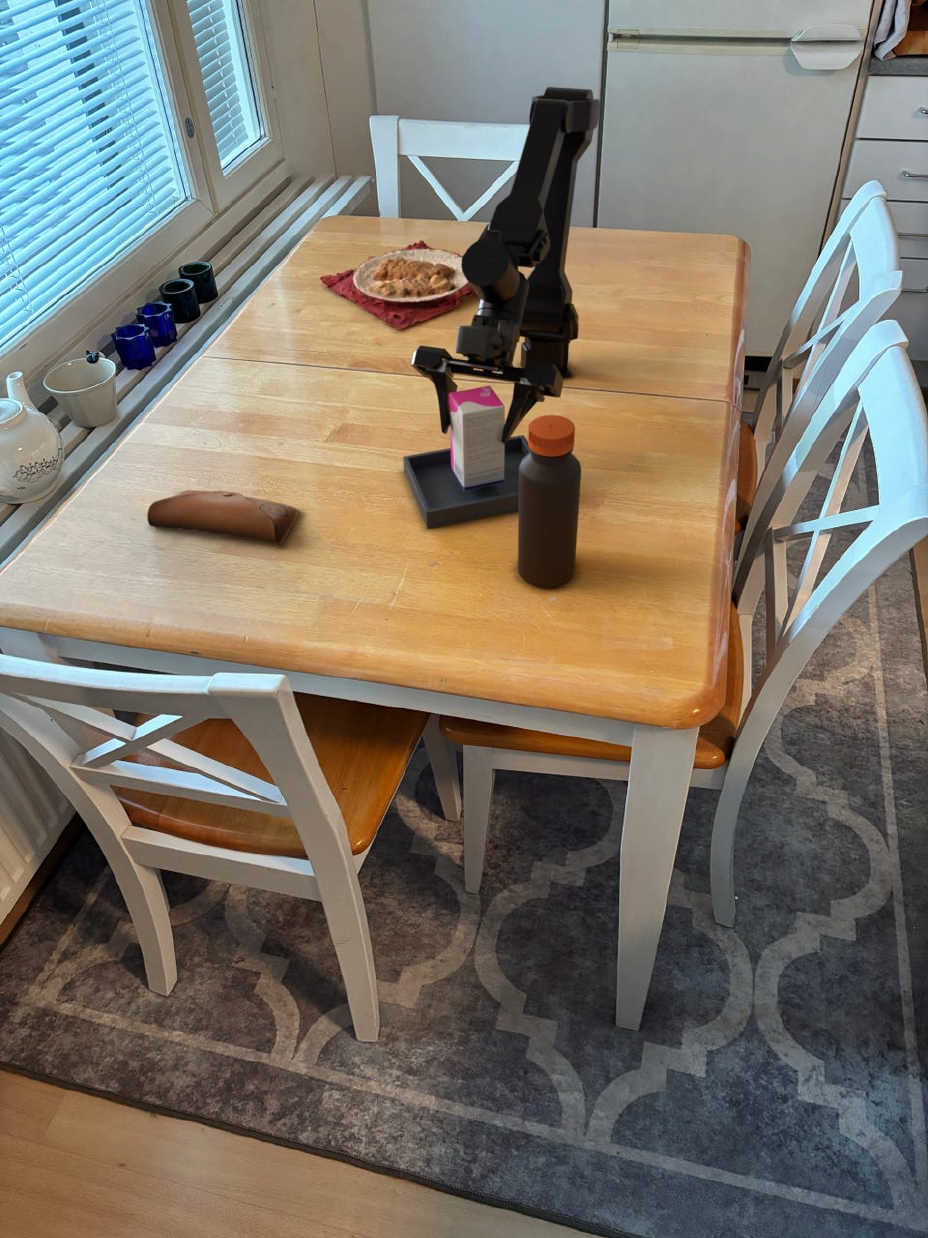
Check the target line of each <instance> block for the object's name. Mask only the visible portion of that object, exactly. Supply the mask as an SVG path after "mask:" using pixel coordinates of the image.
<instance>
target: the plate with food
mask: <svg viewBox="0 0 928 1238" xmlns="http://www.w3.org/2000/svg"><path fill="white" fill-rule="evenodd" d="M462 257H463V255H461V254H459V253H457V252H453V251H450V250H449V251H448V250H446V249H436V248H433V247H431V246H429V245H427V243H425V241H424V240H421V239H420V240H419V241H418V242H417V241H415V242H414V243H413V244H409V245H407V246H405V247H404V248H401V249H399V248H398V249H395V250H391V251H388V252H384V253H383V254H379V255H375V256H374V255H372V256H368V259H367V260H365V261H363V262H362V263H360V264H359V265H358V267H357V268H355V269H352V268H351V269H346V271H343V272H336V275H333V274H328V275H321V276H320V277H319V280H320V281H321V282H322V284H324V285H325V286H326V287H327V289H329V290H331V291H333V292H334V293H335V294H337V295H339V296H344V297H345V298H346V299H348V300H349V301H353V302H354V303H355V304H357V306H359V307H361V308H363V309H364V310H365V311H366V312H370V313H371V314H374V315H375V317H376V318H377V319H379V320H382V321H383V322H385V323H386V324H388V325H389V326H390V327H392V328H394V330H400V329H401V330H404V328H406V327H409V326H414V324H415V323H416V322H419V323H422V322H423V321H427V320H429V319H430V318H432V317H433V318H434V317H435V316H437V315H440V314H442V313H444V312H448V311H451V310H453V309H455V308H456V307H457V306H458V305H459V304H460V303H461V300H459V299H458V298H459V297H461V296H463V295H464V294H465V297H467V298H471V297H473V295H474V292H475V291H474V290H473V288H472V287H471V285H470V284H469V282H468V281H467V279H466V278H465V276H464V274H463V272H462V266H461V264H462ZM394 315H396V316H399V317H398V318H395V317H394Z"/></svg>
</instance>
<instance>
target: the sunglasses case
mask: <svg viewBox="0 0 928 1238" xmlns="http://www.w3.org/2000/svg"><path fill="white" fill-rule="evenodd" d="M300 514H301V512H300V510H299V509H298V508H296V507H293V506H291V505H288V504H285V503H281V502H277V501H272V500H268V499H262V498H257V497H250V496H244V495H243V493H241V492H234V491H227V490H211V491H210V490H198V489H195V490H194V489H186V490H183V491H180V492H179V493H178V494H175V495H174V496H170V497H166V498H163V499H159V500H155V501H154V502H152V503H151V504H150V505H149V506H148V509H147V516H146V518H147V523H148V525H149V526H150V527H153V528H164V529H175V530H180V529H181V530H185V531H198V532H203V533H204V532H205V533H209V534H216V535H225V536H231V537H236V538H243V539H249V540H255V541H261V542H267V543H273V544H274V543H275V544H276V543H277V544H279V545H283V544H284V543H285V541H286V540H287V538H288V537H289V536H290V533H292V531H293V528H294V527H295V524H296V522H297V521H298V519H299V517H300Z"/></svg>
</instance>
